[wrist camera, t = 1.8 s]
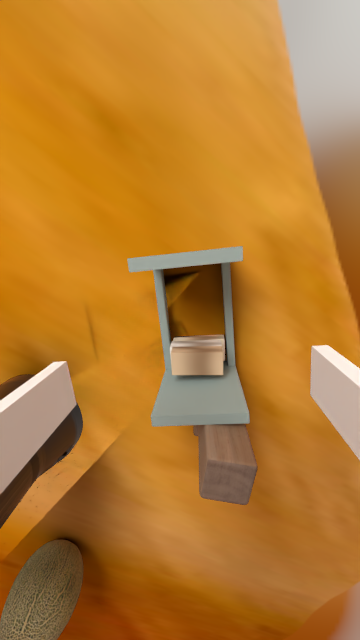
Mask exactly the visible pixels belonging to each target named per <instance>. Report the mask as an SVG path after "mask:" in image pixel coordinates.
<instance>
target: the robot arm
mask: <svg viewBox="0 0 360 640" xmlns="http://www.w3.org/2000/svg"><path fill="white" fill-rule="evenodd" d="M310 395H311V397H312V398H313V399H314V400H315V402H316V403H317V404H318V406H319V407H320V408H321V410H322V411H323V412H324V414H325V415H326V416H327V418H328V419H329V420H330V422H331V423H332V424H333V426H334V427H335V428H336V430H337V431H338V432H339V434H340V435H341V436H342V438H343V439H344V440H345V442H346V443H347V444H348V445H349V447H350V448H351V449H352V451H353V452H354V453H355V455H356V456H357V457H358V459H359V460H360V368H358V367H357V366H355V365H354V364H353V363H351V362H350V361H349V360H347V359H346V358H345V357H343V356H342V355H340V354H339V353H338V352H336V351H335V350H334V349H332V348H331V347H330V346H328V345H322V346H312V351H311V390H310ZM82 428H83V420H82V414H81V411H80V408H79V406H78V404H77V402H76V400H75V396H74V391H73V387H72V382H71V378H70V374H69V369H68V365H67V361H61V362H53V363H52V364H50V365H49V366H48V367H46V368H45V369H43V370H42V371H41V372H39V373H38V374H37V375H30V374H28V375H19V376H16V377H13V378H11V379H9V380H7V381H6V382H4V383H3V384H1V385H0V528H1V527H2V526H3V524H4V523H5V521H6V520H7V519H8V517H9V516H10V515H11V513H12V512H13V510H14V509H15V508H16V506H17V505H18V503H19V502H20V501H21V499H22V498H23V496H24V495H25V494H26V492H27V491H28V489H29V488H30V487H31V485H32V484H33V483H34V481H35V480H36V479H37V478H38V477H39V476H41V475H42V474H43V473H44V472H46V471H47V470H48V469H50V468H51V467H52V466H54V465H55V464H56V463H57V462H59V461H60V460H62V459H63V458H64V457H66V456H67V455H68V454H69V453H70V451H71V450H72V449H73V447H74V446H75V444H76V443H77V441H78V440H79V438H80V436H81V433H82Z"/></svg>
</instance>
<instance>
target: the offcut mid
mask: <svg viewBox="0 0 360 640" xmlns="http://www.w3.org/2000/svg"><path fill="white" fill-rule="evenodd" d="M190 346H222V344H221V340H196V341H172V343H171V346H170V356H171V350H172V347H190ZM171 368H172V367H171Z"/></svg>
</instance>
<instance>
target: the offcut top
mask: <svg viewBox="0 0 360 640" xmlns="http://www.w3.org/2000/svg"><path fill="white" fill-rule="evenodd" d="M171 367H172V375H223V350H222V346H190V347H172V350H171Z"/></svg>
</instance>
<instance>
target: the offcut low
mask: <svg viewBox="0 0 360 640" xmlns="http://www.w3.org/2000/svg"><path fill="white" fill-rule="evenodd" d="M196 340H221V344H222V350H223V360H225V340H224V335H200V336H175V337H174V339H173V341H196Z"/></svg>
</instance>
